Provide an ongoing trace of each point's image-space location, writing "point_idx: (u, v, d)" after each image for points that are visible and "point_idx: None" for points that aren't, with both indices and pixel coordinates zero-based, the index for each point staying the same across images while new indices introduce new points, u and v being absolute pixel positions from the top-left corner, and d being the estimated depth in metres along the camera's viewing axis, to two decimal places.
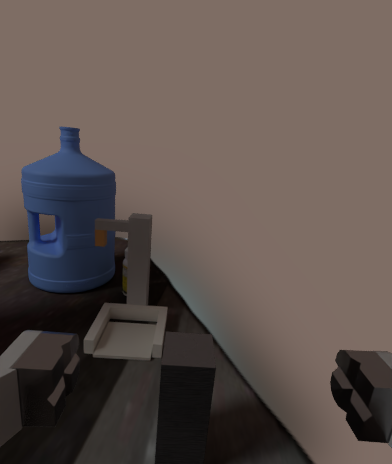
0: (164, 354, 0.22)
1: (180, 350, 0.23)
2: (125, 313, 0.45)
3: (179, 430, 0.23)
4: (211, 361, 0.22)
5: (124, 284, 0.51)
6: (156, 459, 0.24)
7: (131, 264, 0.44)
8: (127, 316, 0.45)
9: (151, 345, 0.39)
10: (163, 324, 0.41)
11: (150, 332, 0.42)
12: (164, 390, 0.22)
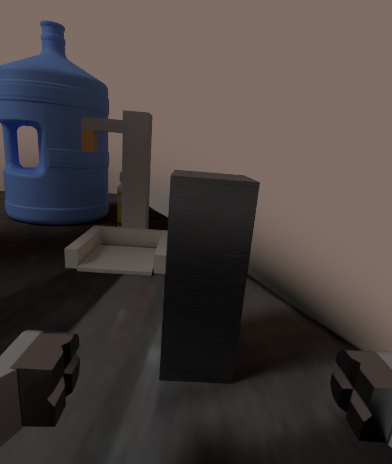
0: (174, 173, 0.14)
1: (198, 174, 0.14)
2: (120, 236, 0.36)
3: (198, 300, 0.15)
4: (250, 180, 0.14)
5: (119, 214, 0.43)
6: (162, 354, 0.15)
7: (126, 174, 0.35)
8: (122, 240, 0.36)
9: (152, 262, 0.31)
10: None
11: (151, 253, 0.33)
12: (174, 225, 0.13)
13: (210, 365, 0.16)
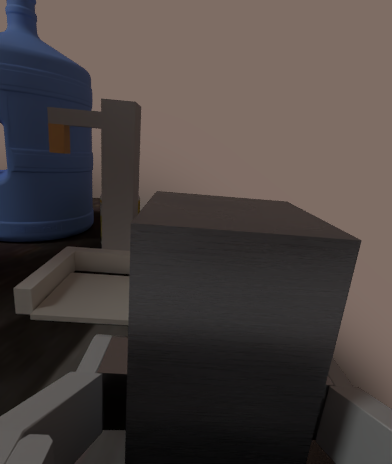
0: (146, 210, 0.06)
1: (203, 209, 0.07)
2: (99, 261, 0.28)
3: None
4: (328, 229, 0.06)
5: None
6: None
7: (107, 182, 0.27)
8: (102, 266, 0.28)
9: None
10: None
11: None
12: (144, 341, 0.06)
13: None
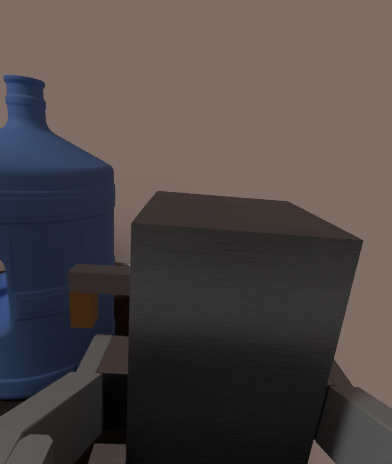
0: (147, 209, 0.06)
1: (203, 209, 0.07)
2: None
3: None
4: (330, 228, 0.06)
5: None
6: None
7: None
8: None
9: None
10: None
11: None
12: (145, 341, 0.05)
13: None
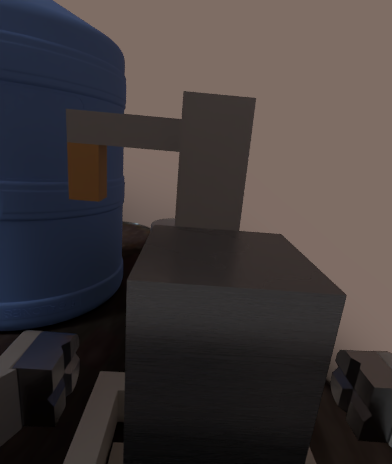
0: (142, 258, 0.06)
1: (197, 253, 0.07)
2: None
3: None
4: (317, 278, 0.06)
5: None
6: None
7: None
8: None
9: None
10: None
11: None
12: (140, 386, 0.06)
13: None
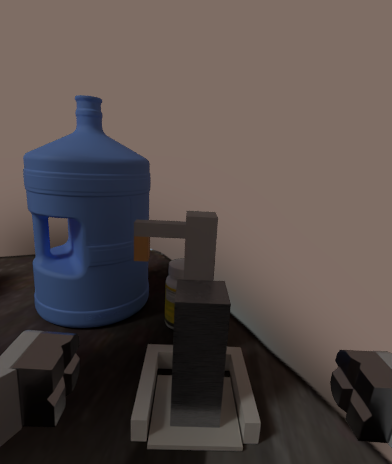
0: (176, 294, 0.22)
1: (192, 292, 0.22)
2: None
3: (195, 375, 0.22)
4: (225, 299, 0.21)
5: (168, 312, 0.37)
6: (172, 409, 0.23)
7: None
8: None
9: (235, 419, 0.24)
10: (246, 380, 0.26)
11: (225, 392, 0.27)
12: (177, 330, 0.21)
13: (204, 416, 0.23)
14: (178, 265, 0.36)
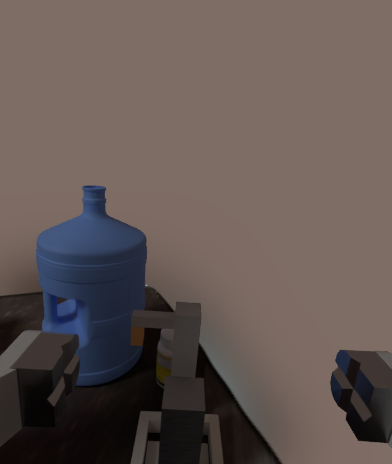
0: (163, 398, 0.27)
1: (176, 394, 0.28)
2: None
3: (176, 459, 0.28)
4: (202, 405, 0.27)
5: (159, 373, 0.43)
6: None
7: (175, 368, 0.35)
8: None
9: None
10: (220, 452, 0.32)
11: (203, 459, 0.33)
12: (163, 428, 0.27)
13: None
14: (168, 335, 0.42)
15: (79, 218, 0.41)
